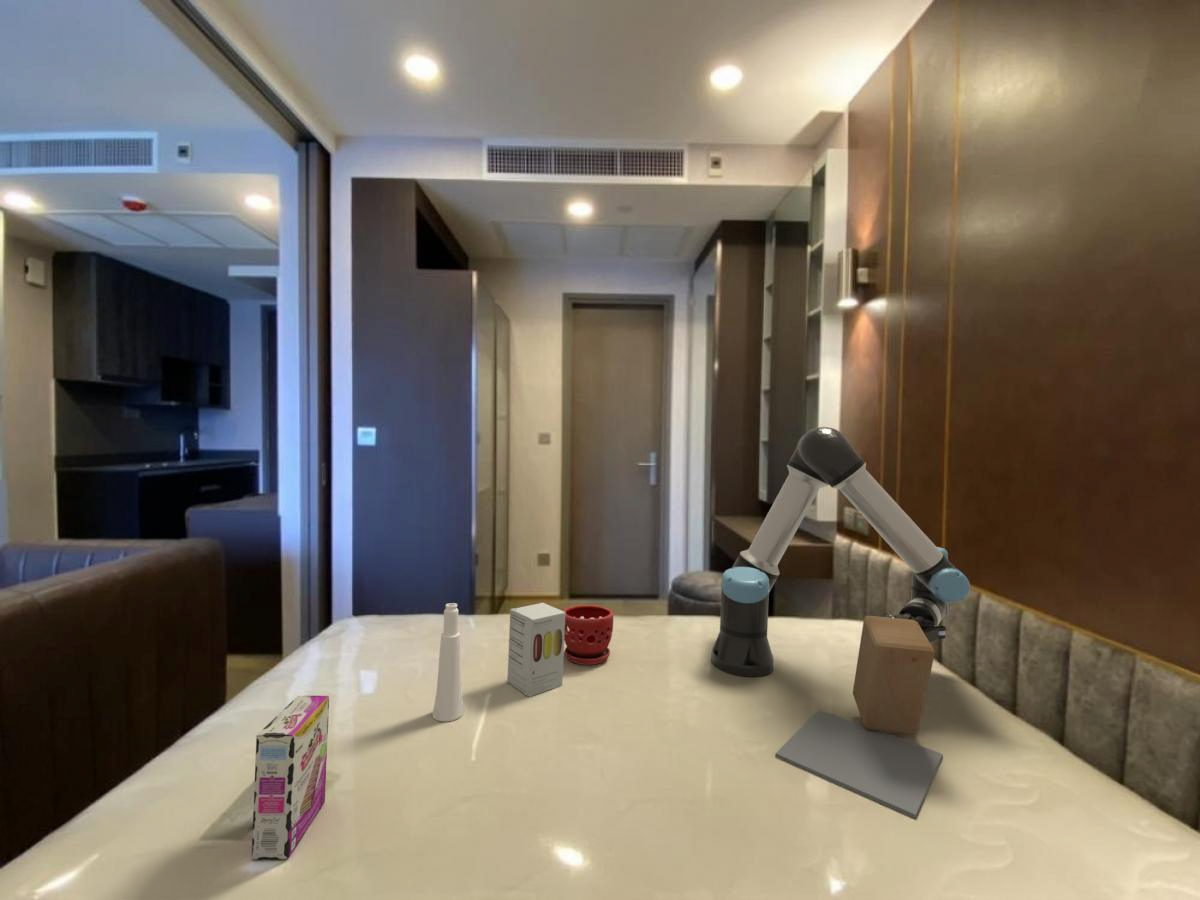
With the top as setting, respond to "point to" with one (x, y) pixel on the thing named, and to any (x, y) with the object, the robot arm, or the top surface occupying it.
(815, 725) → the mat
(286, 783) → the candy bar box
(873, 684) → the wooden block
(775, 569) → the robot arm
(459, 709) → the cosmetic bottle
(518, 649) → the supplement box
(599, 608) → the plant pot
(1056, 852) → the top surface
